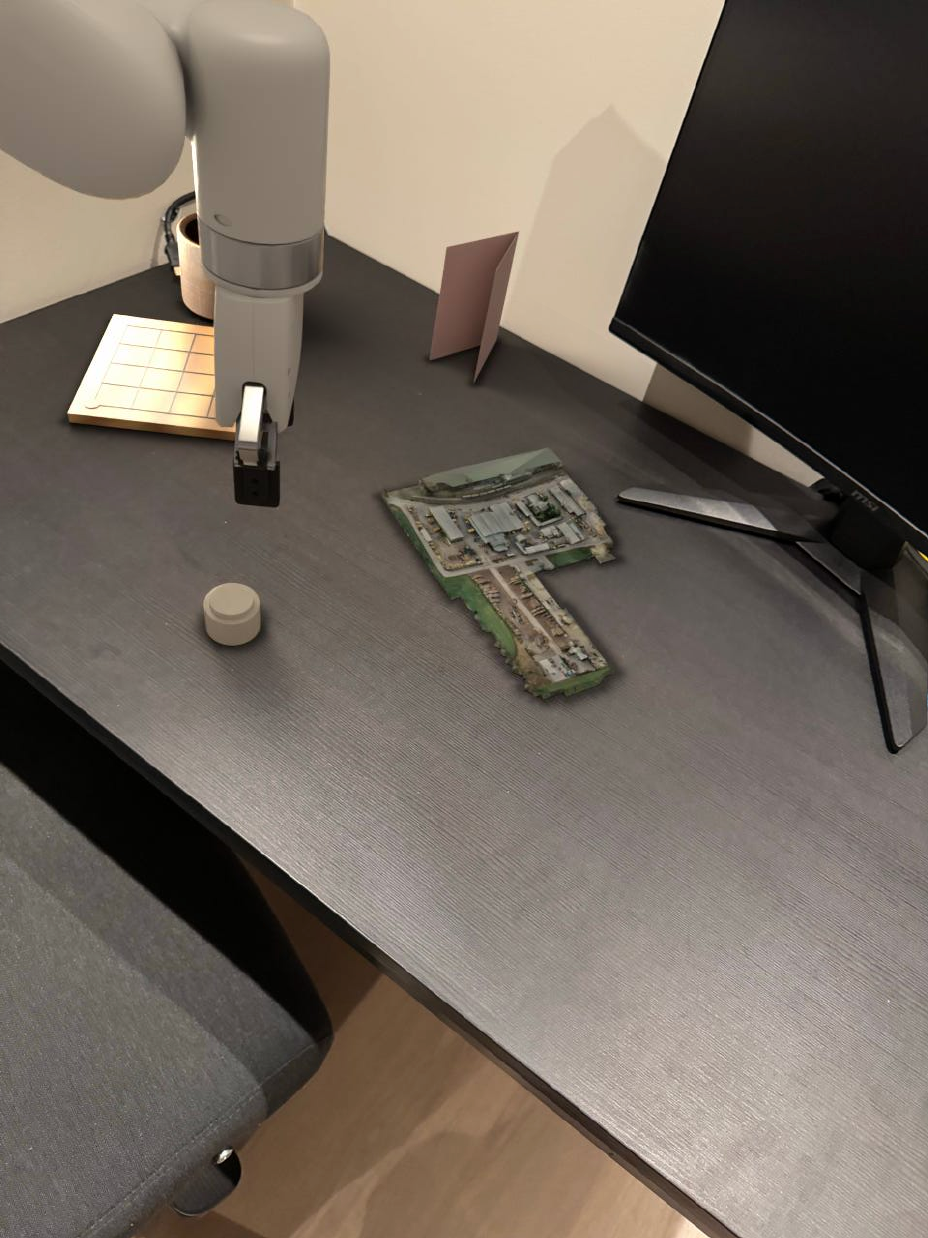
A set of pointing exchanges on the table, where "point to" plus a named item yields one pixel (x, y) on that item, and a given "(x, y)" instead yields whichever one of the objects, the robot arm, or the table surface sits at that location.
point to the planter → (194, 270)
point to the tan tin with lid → (232, 614)
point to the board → (152, 380)
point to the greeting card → (473, 296)
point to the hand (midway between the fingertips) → (265, 461)
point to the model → (512, 558)
